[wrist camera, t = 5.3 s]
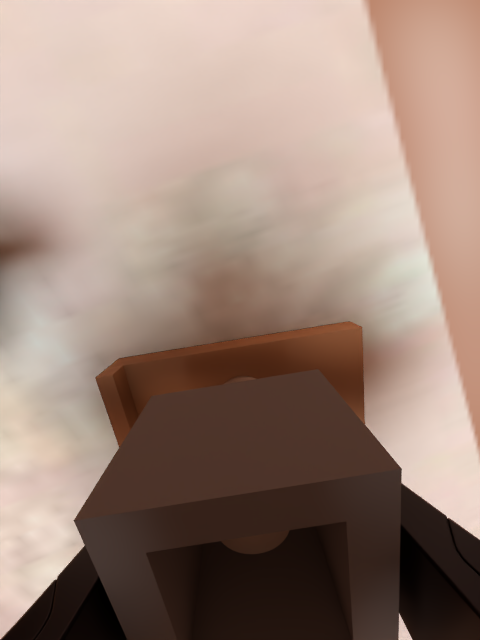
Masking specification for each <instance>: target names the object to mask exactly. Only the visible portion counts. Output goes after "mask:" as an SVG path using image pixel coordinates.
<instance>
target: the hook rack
mask: <svg viewBox="0 0 480 640" xmlns="http://www.w3.org/2000/svg"><path fill="white" fill-rule="evenodd" d="M316 369H319V371H320V372H321V373H322V374H323V375H324V377H325V378H326V379H327V380H328V381H329V382H330V384H331V385H332V386H333V387H334V388H335V390H336V391H337V392H338V393H339V394H340V396H341V397H342V398H343V399H344V400H345V402H346V403H347V404H348V405H349V406H350V408H351V409H352V410H353V411H354V412H355V414H356V415H357V416H358V417H359V418H360V420H361V421H362V422H363V423H364V424H365V421H364V382H363V343H362V327H361V326H358V325H356V324H354V323H352V322H343V323H337V324H331V325H325V326H318V327H312V328H306V329H300V330H293V331H287V332H281V333H275V334H268V335H262V336H256V337H250V338H244V339H237V340H231V341H225V342H219V343H212V344H206V345H200V346H194V347H187V348H181V349H175V350H169V351H162V352H156V353H150V354H144V355H138V356H131V357H125V358H119V359H118V360H116V361H115V362H114V363H113V364H112V365H110V366H109V367H108V368H107V369H105V370H104V371H103V372H102V373H101V374H99V375H98V376H97V377H96V381H97V384H98V387H99V390H100V393H101V396H102V399H103V401H104V404H105V407H106V410H107V413H108V416H109V419H110V422H111V425H112V427H113V430H114V433H115V436H116V439H117V442H118V445H119V447H120V446H121V444H122V443H123V441H124V439H125V438H126V436H127V435H128V433H129V431H130V430H131V428H132V427H133V425H134V423H135V422H136V420H137V419H138V417H139V415H140V414H141V412H142V411H143V409H144V407H145V406H146V404H147V403H148V401H149V399H150V398H151V396H154V395H160V394H167V393H173V392H179V391H185V390H191V389H198V388H204V387H210V386H216V385H222V384H229V383H235V382H241V381H247V380H254V379H260V378H266V377H272V376H278V375H285V374H291V373H297V372H303V371H310V370H316ZM288 533H289V530H288V531H281V532H275V533H269V534H262V535H256V536H250V537H243V538H237V539H230V540H224V541H222V543H223V544H224V545H225V546H227V547H228V548H229V549H231V550H233V551H236V552H239V553H243V554H260V553H264V552H267V551H270V550H272V549H274V548H276V547H277V546H279V545H280V544H281V543H282V542H283V541H284V540H285V538H286V537H287V535H288Z"/></svg>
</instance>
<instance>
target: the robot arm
mask: <svg viewBox="0 0 480 640" xmlns="http://www.w3.org/2000/svg"><path fill="white" fill-rule="evenodd" d="M399 613H400V615H401V617H402V619H403V621H404V623H405V625H406V627H407V629H408V631H409V633H410V635H411V637H412V639H413V640H480V540H479V539H478V538H476V537H475V536H474V535H472V534H471V533H469V532H468V531H466V530H465V529H464V528H462V527H461V526H460V525H458V524H457V523H455V522H454V521H453V520H451V519H450V518H448V519H447V517H446V515H444V514H443V513H442V512H440V511H439V510H438V509H436V508H435V507H433V506H432V505H431V504H429V503H428V502H427V501H425V500H424V499H422V498H421V497H420V496H418V495H417V494H416V493H414V492H413V491H411V490H410V489H409V488H407V487H406V486H405V485H403V484H402V483H401V524H400V578H399ZM1 640H127V638H126V636H125V634H124V631H123V629H122V627H121V625H120V622H119V620H118V618H117V616H116V613H115V611H114V609H113V607H112V605H111V602H110V600H109V598H108V596H107V593H106V591H105V589H104V587H103V584H102V582H101V580H100V578H99V575H98V573H97V571H96V569H95V567H94V564H93V562H92V560H91V558H90V555H89V553H88V551H87V549H86V546H84V547H83V548H82V549H81V551H80V552H79V553H78V554H77V555H76V556H75V557H74V559H73V560H72V561H71V562H70V563H69V564H68V565H67V566H66V568H65V569H64V570H63V571H62V572H61V573H60V574H59V576H58V577H57V580H54V581H53V582H52V583H51V585H50V586H49V587H48V588H47V589H46V590H45V591H44V592H43V594H42V595H41V596H40V597H39V598H38V599H37V600H36V601H35V603H34V604H33V605H32V606H31V607H30V608H29V609H28V610H27V611H26V613H25V614H24V615H23V616H22V617H21V618H20V619H19V620H18V621H17V623H16V624H15V625H14V626H13V627H12V628H11V629H10V630H9V631H8V632H7V633H6V634H5V635H4V636H3V637H2V638H1Z"/></svg>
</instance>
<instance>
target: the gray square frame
mask: <svg viewBox="0 0 480 640" xmlns="http://www.w3.org/2000/svg"><path fill="white" fill-rule="evenodd" d="M401 471H402V469H401V468H400V466H399V465H398V464H397V463H396V462H395V460H394V459H393V458H392V457H391V456H390V454H389V453H388V452H387V451H386V450H385V448H384V447H383V446H382V445H381V444H380V442H379V441H378V440H377V439H376V438H375V436H374V435H373V434H372V433H371V432H370V430H369V429H368V428H367V427H366V426H365V424H364V423H363V422H362V421H361V420H360V418H359V417H358V416H357V415H356V414H355V412H354V411H353V410H352V409H351V408H350V406H349V405H348V404H347V403H346V402H345V400H344V399H343V398H342V397H341V396H340V394H339V393H338V392H337V391H336V390H335V388H334V387H333V386H332V385H331V384H330V382H329V381H328V380H327V379H326V378H325V377H324V375H323V374H322V373H321V372H320V371H319V369H316V370H310V371H303V372H297V373H291V374H285V375H278V376H272V377H266V378H260V379H254V380H247V381H241V382H235V383H229V384H222V385H216V386H210V387H204V388H198V389H191V390H185V391H179V392H173V393H167V394H160V395H154V396H151V398H150V399H149V401H148V403H147V404H146V406H145V407H144V409H143V411H142V412H141V414H140V415H139V417H138V419H137V420H136V422H135V423H134V425H133V427H132V428H131V430H130V431H129V433H128V435H127V436H126V438H125V439H124V441H123V443H122V444H121V446H120V447H119V449H118V451H117V452H116V454H115V456H114V457H113V459H112V460H111V462H110V464H109V465H108V467H107V468H106V470H105V472H104V473H103V475H102V476H101V478H100V480H99V481H98V483H97V484H96V486H95V488H94V489H93V491H92V492H91V494H90V496H89V497H88V499H87V500H86V502H85V504H84V505H83V507H82V508H81V510H80V512H79V513H78V515H77V516H76V518H75V520H74V522H75V524H76V526H77V529H78V531H79V533H80V535H81V538H82V540H83V542H84V544H85V546H86V549H87V551H88V553H89V555H90V558H91V560H92V562H93V564H94V567H95V569H96V571H97V573H98V575H99V578H100V580H101V582H102V584H103V587H104V589H105V591H106V593H107V596H108V598H109V600H110V602H111V605H112V607H113V609H114V611H115V613H116V616H117V618H118V620H119V622H120V625H121V627H122V629H123V631H124V634H125V636H126V638H127V640H398V631H399V578H400V524H401ZM288 530H289V533H288V535H287V537H286V538H285V540H284V541H283V542H282V543H281V544H280V545H279V546H277V547H276V548H274V549H272V550H270V551H267V552H264V553H260V554H243V553H239V552H236V551H233V550H231V549H229V548H228V547H227V546H225V545H224V544H223V543H222V541H224V540H230V539H237V538H243V537H250V536H256V535H262V534H269V533H275V532H281V531H288Z"/></svg>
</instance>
